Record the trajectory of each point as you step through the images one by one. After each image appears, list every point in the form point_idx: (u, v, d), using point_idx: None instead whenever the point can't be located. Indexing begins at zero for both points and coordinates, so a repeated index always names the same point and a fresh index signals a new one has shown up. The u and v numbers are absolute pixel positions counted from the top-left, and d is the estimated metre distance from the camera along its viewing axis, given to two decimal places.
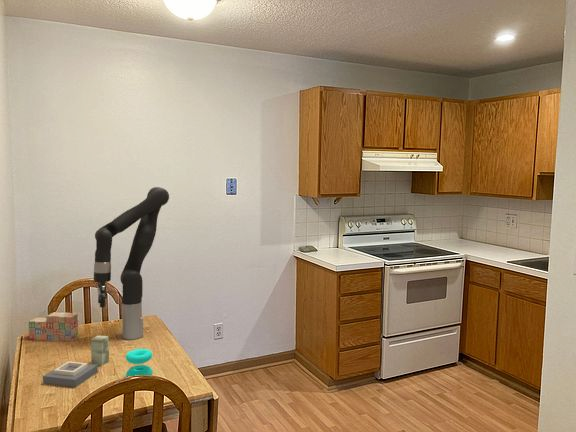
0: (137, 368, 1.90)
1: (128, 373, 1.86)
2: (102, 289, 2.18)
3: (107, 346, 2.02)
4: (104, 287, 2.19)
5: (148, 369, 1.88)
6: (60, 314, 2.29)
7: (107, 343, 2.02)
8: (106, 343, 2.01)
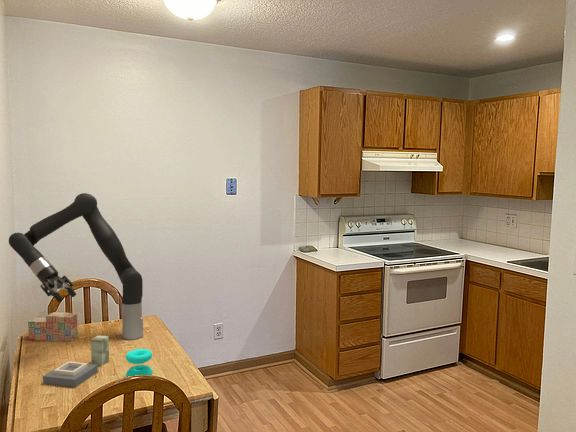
0: (137, 368, 1.90)
1: (128, 373, 1.86)
2: (43, 287, 1.98)
3: (107, 346, 2.02)
4: (43, 284, 1.98)
5: (148, 369, 1.88)
6: (60, 314, 2.29)
7: (107, 343, 2.02)
8: (106, 343, 2.01)
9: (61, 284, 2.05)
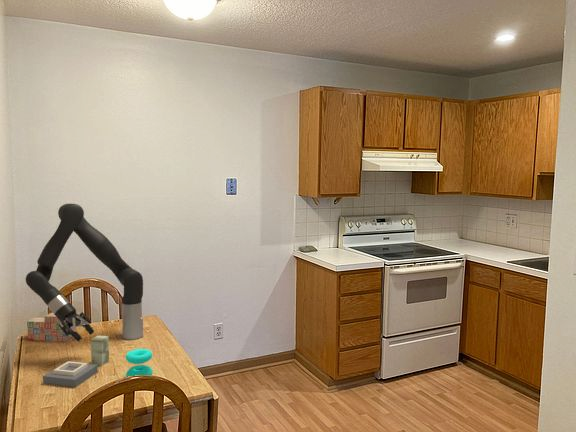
0: (137, 368, 1.90)
1: (128, 373, 1.86)
2: (61, 326, 1.96)
3: (107, 346, 2.02)
4: (61, 323, 1.96)
5: (148, 369, 1.88)
6: None
7: (107, 343, 2.02)
8: (106, 343, 2.01)
9: (79, 322, 2.03)
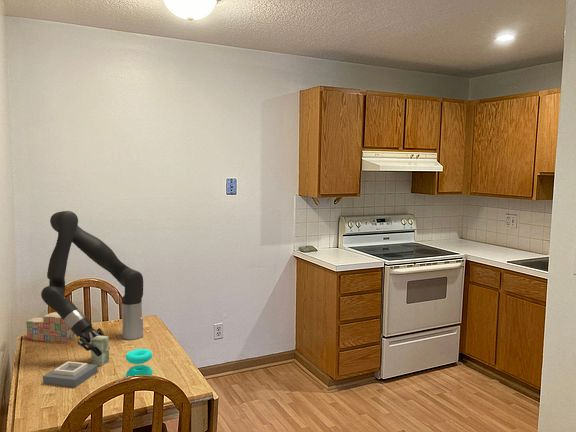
0: (137, 368, 1.90)
1: (128, 373, 1.86)
2: (80, 343, 1.95)
3: (107, 346, 2.02)
4: (80, 340, 1.95)
5: (148, 369, 1.88)
6: (57, 315, 2.28)
7: (107, 343, 2.02)
8: (106, 343, 2.01)
9: None
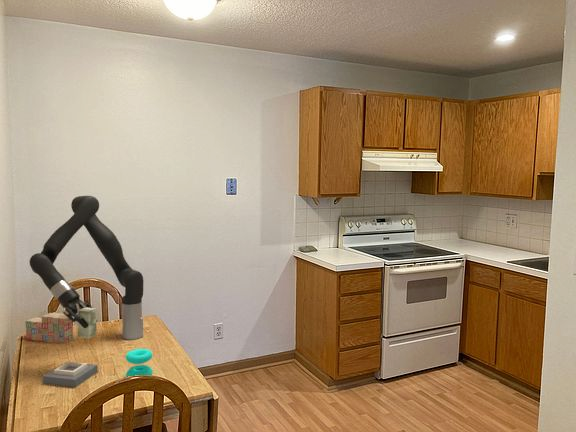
0: (137, 368, 1.90)
1: (128, 373, 1.86)
2: (66, 314, 1.88)
3: (94, 318, 1.95)
4: (66, 311, 1.88)
5: (148, 369, 1.88)
6: (55, 315, 2.27)
7: (95, 315, 1.95)
8: (93, 315, 1.94)
9: (81, 308, 1.95)
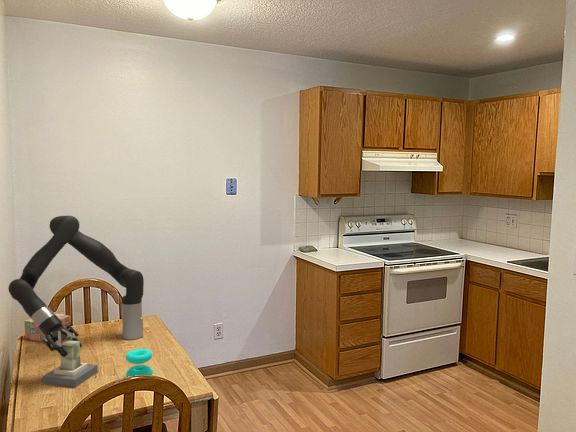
0: (137, 368, 1.90)
1: (128, 373, 1.86)
2: (45, 341, 1.80)
3: (78, 352, 1.87)
4: (45, 338, 1.80)
5: (148, 369, 1.88)
6: None
7: (78, 349, 1.87)
8: (77, 349, 1.86)
9: (65, 335, 1.87)
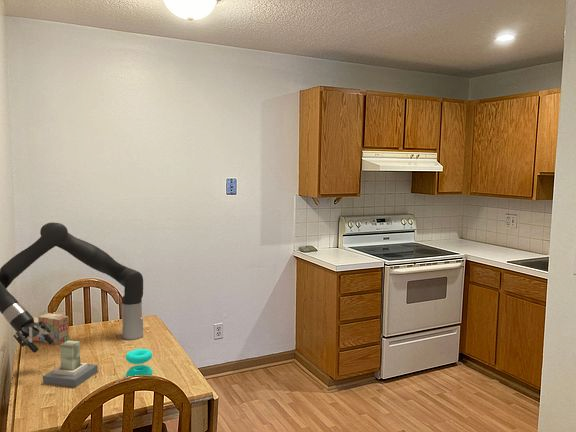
0: (137, 368, 1.90)
1: (128, 373, 1.86)
2: (16, 337, 1.83)
3: (78, 352, 1.87)
4: (16, 334, 1.83)
5: (148, 369, 1.88)
6: (52, 316, 2.26)
7: (78, 349, 1.87)
8: (77, 349, 1.86)
9: (37, 332, 1.90)
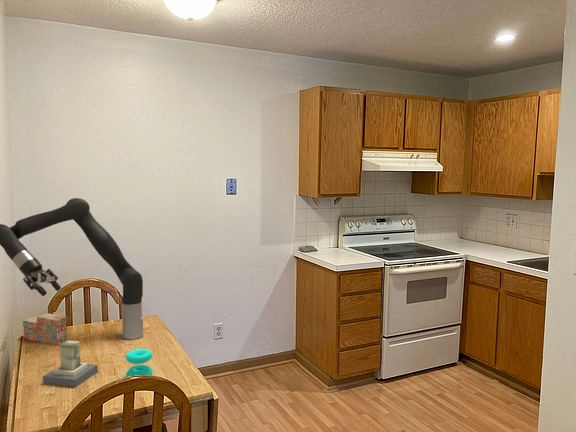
0: (137, 368, 1.90)
1: (128, 373, 1.86)
2: (25, 280, 1.92)
3: (78, 352, 1.87)
4: (25, 277, 1.92)
5: (148, 369, 1.88)
6: (50, 316, 2.26)
7: (78, 349, 1.87)
8: (77, 349, 1.86)
9: (45, 277, 1.99)
